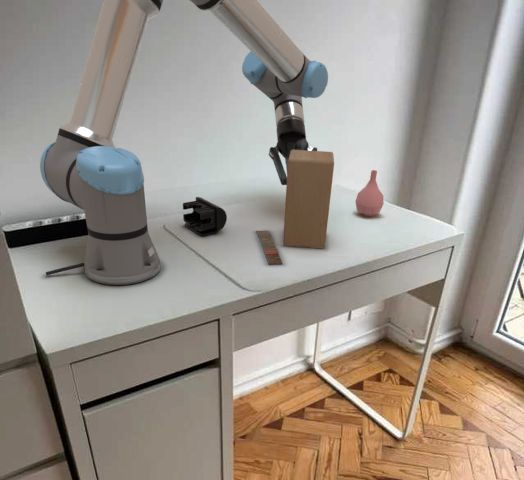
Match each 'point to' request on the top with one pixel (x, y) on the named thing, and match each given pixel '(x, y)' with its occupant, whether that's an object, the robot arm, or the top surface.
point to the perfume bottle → (370, 197)
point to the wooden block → (308, 198)
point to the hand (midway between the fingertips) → (298, 208)
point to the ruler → (269, 248)
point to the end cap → (204, 217)
